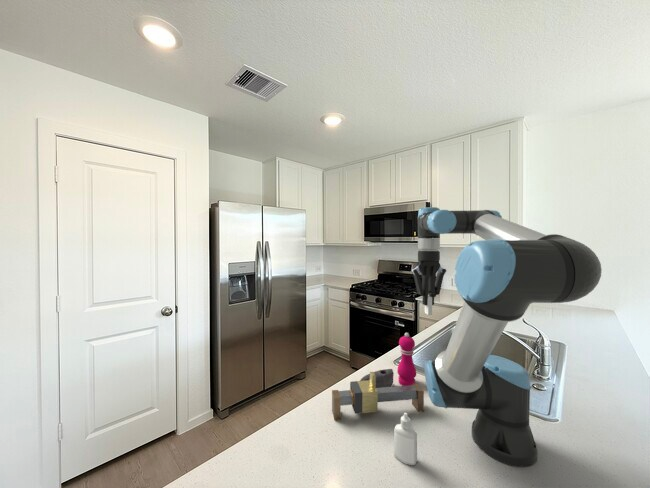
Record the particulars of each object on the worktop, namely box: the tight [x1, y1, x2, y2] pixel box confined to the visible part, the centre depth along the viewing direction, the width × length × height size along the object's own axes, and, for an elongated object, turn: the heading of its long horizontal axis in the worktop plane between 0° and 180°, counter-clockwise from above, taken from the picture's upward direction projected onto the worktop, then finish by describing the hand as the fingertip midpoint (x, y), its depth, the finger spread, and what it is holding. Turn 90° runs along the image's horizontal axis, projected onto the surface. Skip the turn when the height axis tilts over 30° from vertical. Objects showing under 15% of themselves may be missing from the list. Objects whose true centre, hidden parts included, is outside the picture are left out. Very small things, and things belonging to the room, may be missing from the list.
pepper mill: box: [396, 332, 417, 386], centre depth 105 cm, size 7×7×20 cm
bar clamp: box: [331, 383, 425, 421], centre depth 88 cm, size 30×4×7 cm, turn 98°
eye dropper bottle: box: [393, 412, 418, 466], centre depth 69 cm, size 4×6×12 cm
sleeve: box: [356, 371, 379, 414], centre depth 87 cm, size 5×7×11 cm
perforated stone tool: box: [359, 368, 395, 388], centre depth 100 cm, size 15×5×7 cm, turn 105°
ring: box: [349, 380, 363, 415], centre depth 87 cm, size 2×7×7 cm, turn 7°
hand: (428, 313), depth 98 cm, fingers closed
